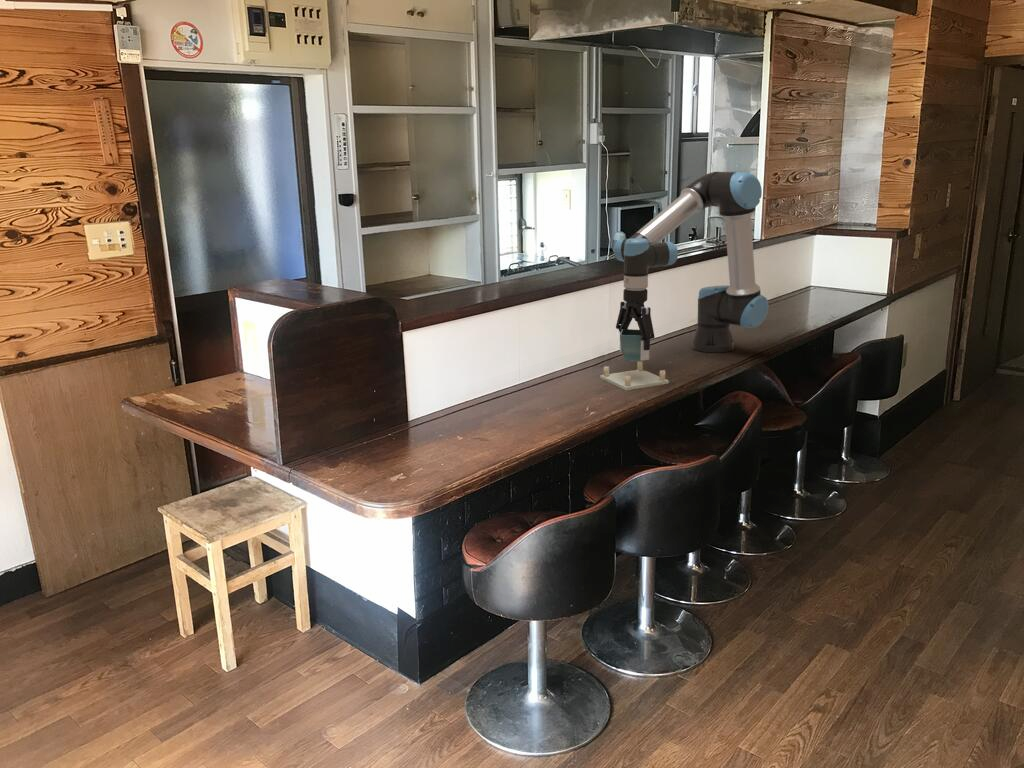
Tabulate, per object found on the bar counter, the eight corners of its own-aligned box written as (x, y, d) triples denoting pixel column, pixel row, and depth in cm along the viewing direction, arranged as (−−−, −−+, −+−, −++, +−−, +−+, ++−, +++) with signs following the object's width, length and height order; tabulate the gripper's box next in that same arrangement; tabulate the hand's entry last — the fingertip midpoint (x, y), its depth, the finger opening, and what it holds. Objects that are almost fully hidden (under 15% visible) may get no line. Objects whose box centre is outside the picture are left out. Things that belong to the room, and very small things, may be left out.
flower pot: (647, 363, 264) (648, 335, 262) (619, 362, 266) (619, 334, 263) (648, 356, 272) (649, 329, 270) (621, 355, 274) (621, 329, 272)
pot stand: (641, 371, 281) (641, 360, 280) (668, 383, 267) (669, 371, 266) (600, 378, 275) (600, 366, 274) (626, 390, 261) (626, 378, 260)
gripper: (605, 284, 272) (605, 349, 278) (646, 295, 251) (644, 365, 257) (625, 282, 275) (624, 346, 281) (667, 293, 254) (665, 362, 260)
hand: (634, 355), depth 269 cm, fingers closed on flower pot, 12 cm apart
